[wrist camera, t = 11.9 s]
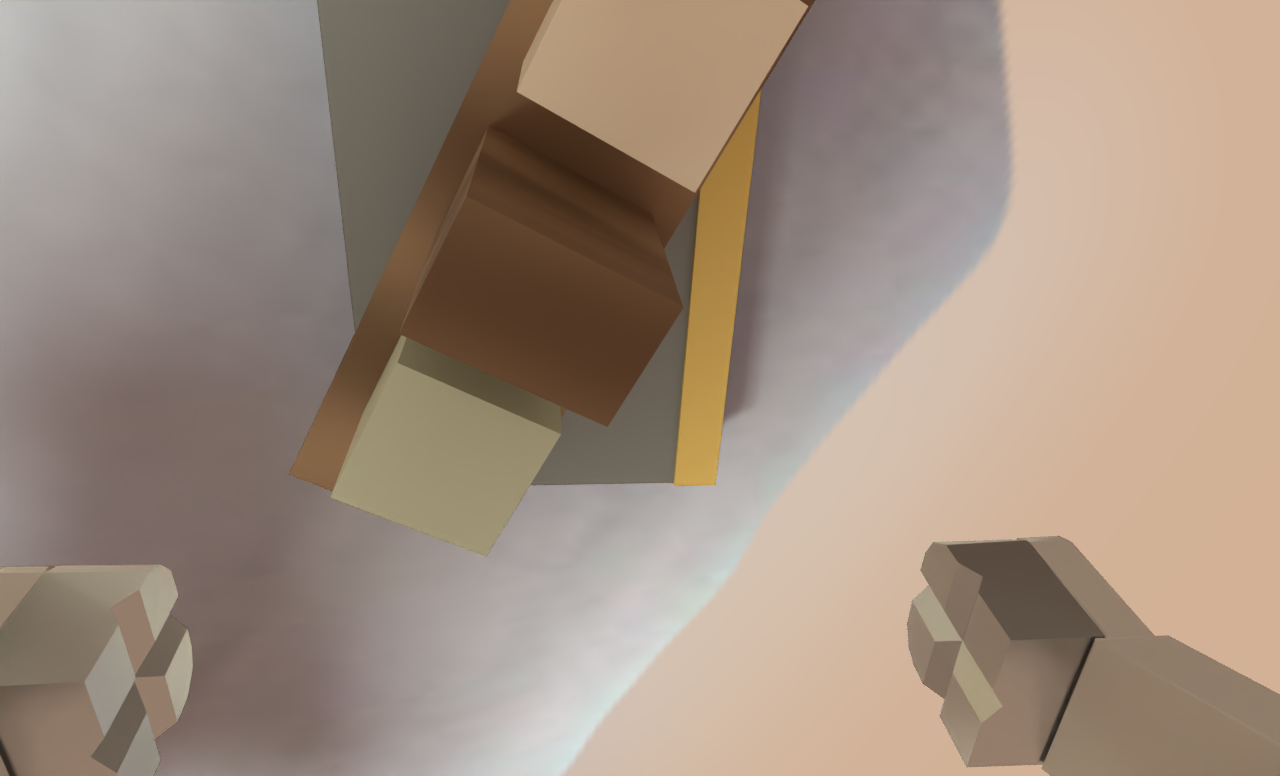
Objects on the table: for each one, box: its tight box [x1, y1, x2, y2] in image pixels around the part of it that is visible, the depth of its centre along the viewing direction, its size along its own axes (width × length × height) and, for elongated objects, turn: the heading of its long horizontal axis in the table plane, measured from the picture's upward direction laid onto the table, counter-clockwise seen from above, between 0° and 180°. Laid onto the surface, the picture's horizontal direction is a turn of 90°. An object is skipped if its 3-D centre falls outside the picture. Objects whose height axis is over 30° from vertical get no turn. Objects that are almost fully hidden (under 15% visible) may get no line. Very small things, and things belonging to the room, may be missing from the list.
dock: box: [317, 0, 761, 486], centre depth 26 cm, size 22×12×3 cm, turn 177°
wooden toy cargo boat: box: [289, 0, 815, 491], centre depth 21 cm, size 20×6×10 cm, turn 150°
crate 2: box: [517, 0, 808, 193], centre depth 18 cm, size 4×4×4 cm
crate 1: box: [330, 335, 561, 556], centre depth 22 cm, size 4×4×4 cm
